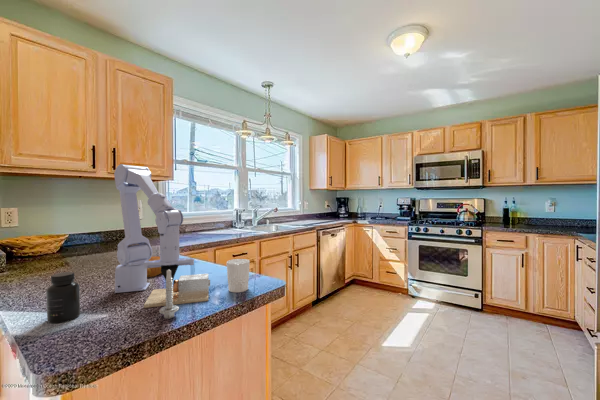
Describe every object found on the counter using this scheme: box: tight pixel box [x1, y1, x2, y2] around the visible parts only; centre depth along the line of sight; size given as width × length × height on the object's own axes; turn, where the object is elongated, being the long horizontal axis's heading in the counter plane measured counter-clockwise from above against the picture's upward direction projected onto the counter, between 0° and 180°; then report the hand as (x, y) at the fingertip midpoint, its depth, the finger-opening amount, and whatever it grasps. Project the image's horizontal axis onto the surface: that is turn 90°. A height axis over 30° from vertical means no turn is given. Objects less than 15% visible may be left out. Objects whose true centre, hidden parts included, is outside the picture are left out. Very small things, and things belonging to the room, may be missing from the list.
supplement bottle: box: [45, 271, 81, 324], centre depth 75 cm, size 7×7×12 cm
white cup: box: [226, 258, 251, 293], centre depth 98 cm, size 8×8×10 cm
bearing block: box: [143, 273, 210, 309], centre depth 91 cm, size 18×14×6 cm
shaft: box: [172, 279, 211, 293], centre depth 92 cm, size 11×4×4 cm, turn 108°
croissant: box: [147, 255, 162, 278], centre depth 121 cm, size 14×16×8 cm
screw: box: [158, 269, 180, 320], centre depth 75 cm, size 13×5×5 cm
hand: (170, 288), depth 90 cm, fingers closed
